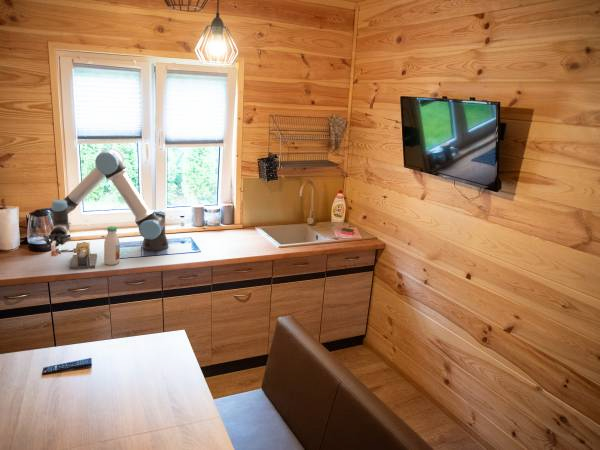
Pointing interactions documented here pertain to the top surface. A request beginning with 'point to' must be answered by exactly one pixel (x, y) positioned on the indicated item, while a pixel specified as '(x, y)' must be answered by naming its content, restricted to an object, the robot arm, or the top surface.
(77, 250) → the valve stand
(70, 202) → the robot arm
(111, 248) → the milk bottle
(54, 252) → the valve lever
